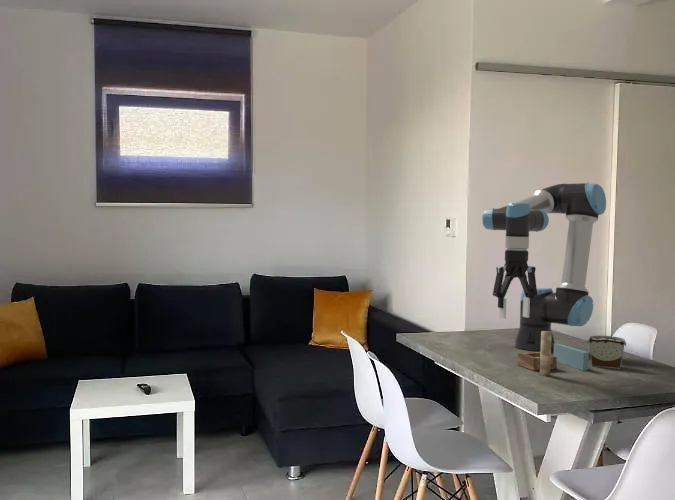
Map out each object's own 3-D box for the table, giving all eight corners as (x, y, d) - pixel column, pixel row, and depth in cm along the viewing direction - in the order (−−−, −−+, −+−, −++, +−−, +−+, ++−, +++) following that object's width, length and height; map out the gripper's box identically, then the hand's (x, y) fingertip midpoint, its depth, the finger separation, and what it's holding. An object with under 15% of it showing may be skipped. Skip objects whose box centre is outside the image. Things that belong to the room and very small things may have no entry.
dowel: (545, 373, 223) (547, 330, 222) (552, 375, 220) (553, 332, 219) (537, 373, 222) (539, 331, 221) (543, 376, 219) (545, 332, 218)
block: (540, 363, 237) (540, 351, 237) (556, 368, 229) (556, 357, 229) (517, 364, 235) (518, 352, 234) (533, 370, 226) (533, 358, 226)
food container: (624, 365, 238) (625, 336, 237) (625, 369, 232) (626, 339, 231) (586, 362, 242) (587, 334, 241) (586, 365, 236) (587, 337, 235)
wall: (558, 360, 244) (558, 343, 244) (588, 370, 229) (588, 352, 229) (553, 360, 243) (553, 343, 243) (583, 370, 228) (583, 352, 228)
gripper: (537, 248, 233) (534, 314, 235) (482, 248, 227) (480, 316, 228) (550, 250, 226) (548, 318, 228) (495, 250, 220) (492, 320, 221)
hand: (514, 317), depth 228 cm, fingers open, 8 cm apart
